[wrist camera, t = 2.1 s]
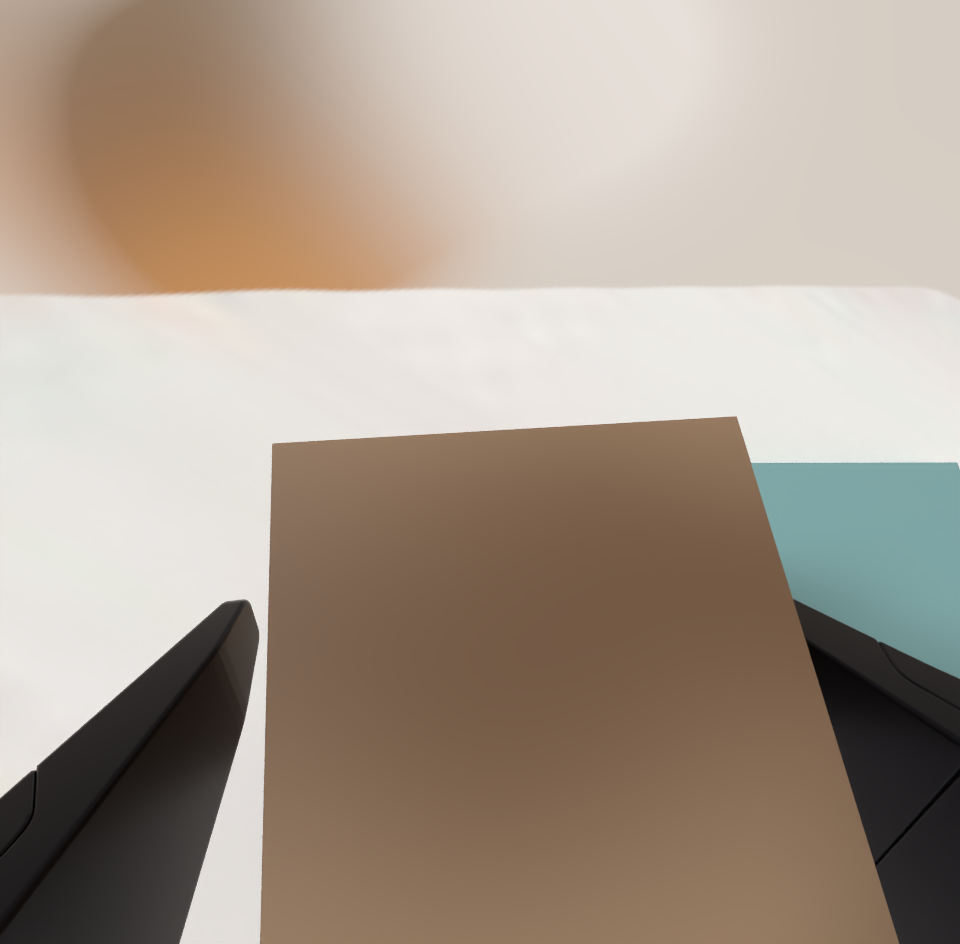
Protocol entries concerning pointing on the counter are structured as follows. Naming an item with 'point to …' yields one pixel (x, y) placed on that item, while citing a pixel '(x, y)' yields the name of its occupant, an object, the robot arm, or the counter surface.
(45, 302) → the counter surface
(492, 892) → the walnut pillar
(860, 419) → the counter surface
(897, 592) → the teal board
